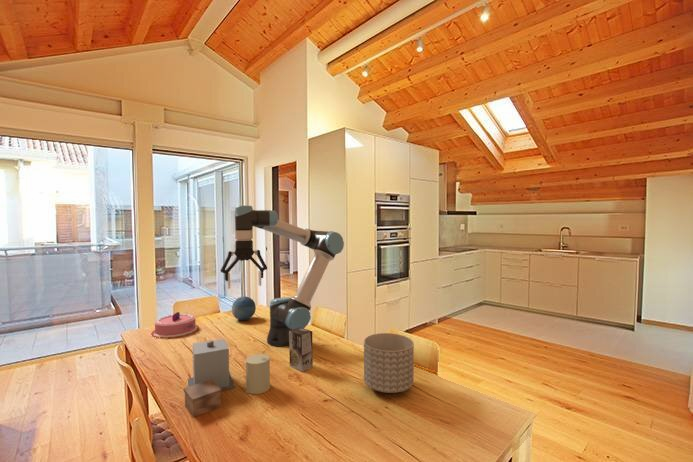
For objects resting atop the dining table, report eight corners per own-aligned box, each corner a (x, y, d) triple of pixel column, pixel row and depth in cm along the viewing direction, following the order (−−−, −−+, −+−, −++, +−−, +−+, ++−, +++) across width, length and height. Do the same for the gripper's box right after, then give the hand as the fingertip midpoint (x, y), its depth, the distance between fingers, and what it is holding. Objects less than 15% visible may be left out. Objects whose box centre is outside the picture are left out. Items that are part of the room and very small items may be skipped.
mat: (229, 371, 143) (229, 370, 143) (234, 387, 129) (234, 387, 129) (187, 379, 136) (187, 378, 136) (189, 398, 121) (189, 397, 121)
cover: (225, 373, 140) (224, 334, 140) (229, 386, 129) (228, 344, 129) (193, 379, 135) (192, 339, 134) (194, 393, 124) (194, 350, 123)
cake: (187, 338, 182) (186, 319, 182) (141, 339, 182) (140, 319, 181) (206, 324, 207) (205, 307, 207) (165, 324, 207) (165, 307, 206)
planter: (381, 406, 116) (381, 355, 115) (355, 382, 133) (355, 337, 132) (423, 393, 125) (424, 345, 124) (394, 372, 142) (394, 330, 141)
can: (263, 395, 123) (263, 363, 123) (241, 392, 125) (240, 361, 125) (274, 383, 132) (273, 353, 132) (252, 381, 134) (252, 351, 134)
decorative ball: (227, 322, 209) (226, 299, 209) (238, 315, 224) (238, 293, 224) (249, 323, 207) (249, 300, 206) (259, 316, 222) (259, 294, 221)
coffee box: (313, 367, 146) (313, 331, 146) (301, 372, 142) (301, 334, 141) (300, 361, 153) (299, 326, 152) (288, 365, 148) (288, 330, 147)
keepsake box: (211, 395, 123) (211, 379, 123) (221, 406, 116) (221, 389, 115) (183, 405, 116) (183, 388, 116) (192, 417, 109) (192, 399, 109)
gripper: (269, 238, 159) (269, 282, 160) (213, 240, 147) (214, 287, 148) (273, 239, 152) (274, 285, 153) (215, 241, 141) (216, 290, 142)
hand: (244, 286), depth 151 cm, fingers open, 13 cm apart
